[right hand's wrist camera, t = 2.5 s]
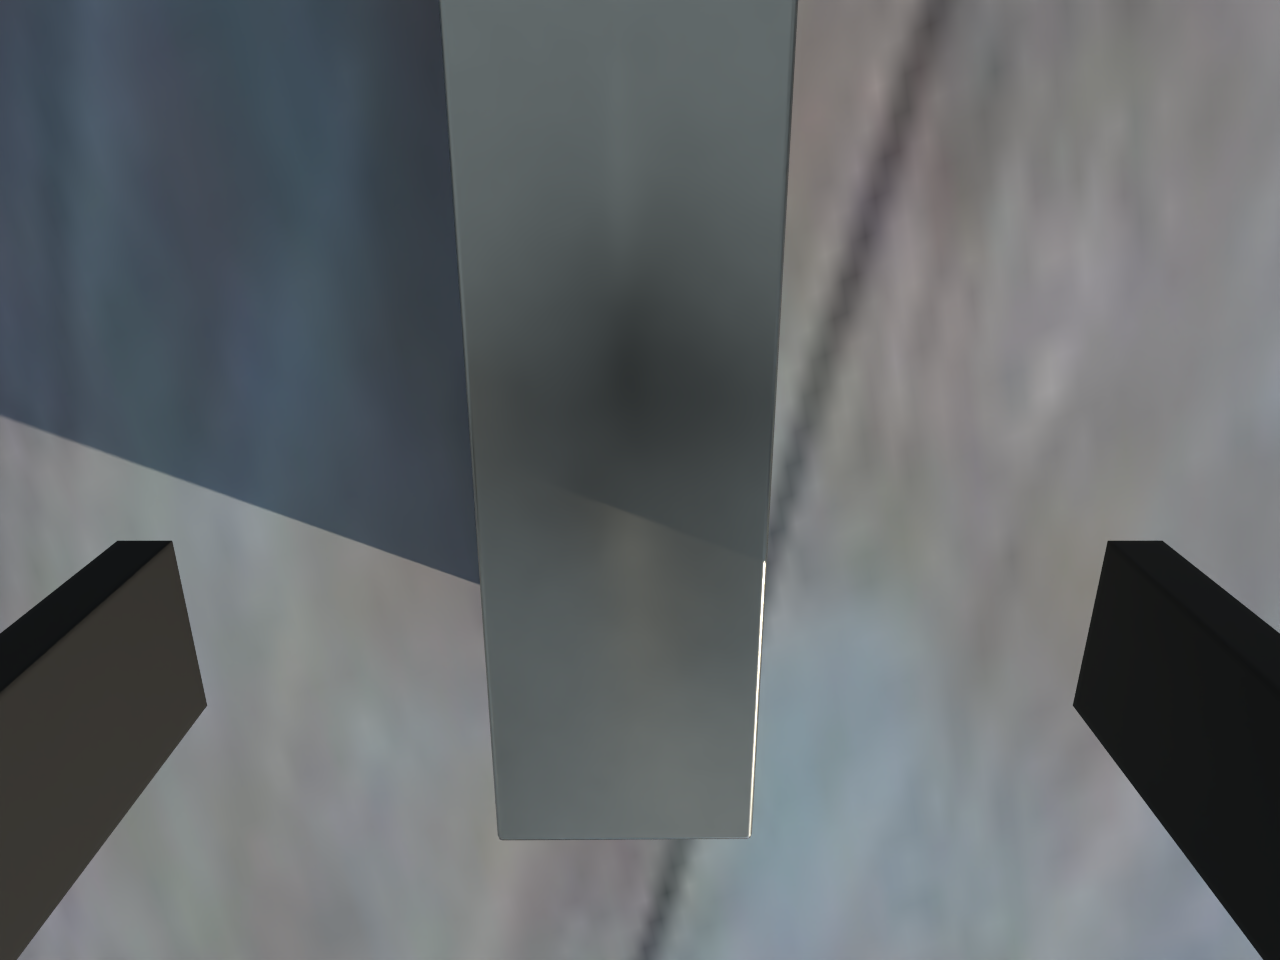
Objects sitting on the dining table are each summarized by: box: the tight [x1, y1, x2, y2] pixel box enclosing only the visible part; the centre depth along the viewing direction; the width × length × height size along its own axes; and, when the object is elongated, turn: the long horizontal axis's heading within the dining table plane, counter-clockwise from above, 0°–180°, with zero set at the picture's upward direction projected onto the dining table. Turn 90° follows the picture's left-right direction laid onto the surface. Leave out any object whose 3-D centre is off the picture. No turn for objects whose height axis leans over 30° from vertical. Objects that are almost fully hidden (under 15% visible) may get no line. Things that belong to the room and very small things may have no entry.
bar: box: [439, 0, 798, 840], centre depth 15 cm, size 25×4×8 cm, turn 0°
